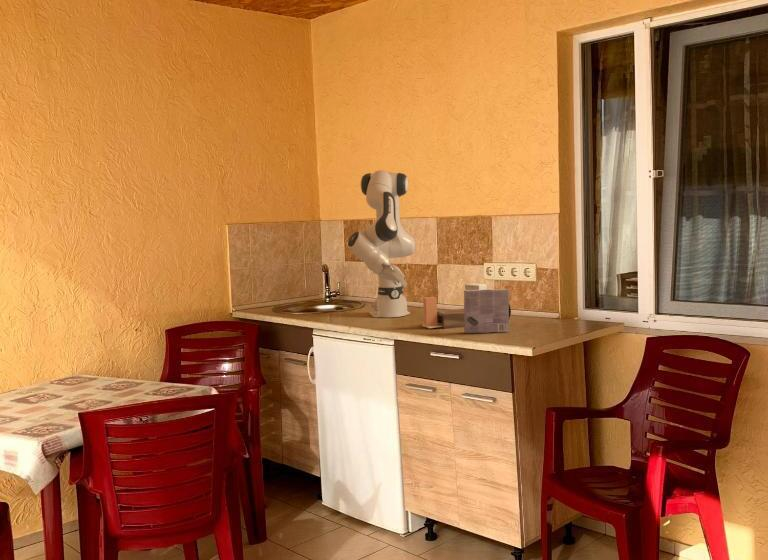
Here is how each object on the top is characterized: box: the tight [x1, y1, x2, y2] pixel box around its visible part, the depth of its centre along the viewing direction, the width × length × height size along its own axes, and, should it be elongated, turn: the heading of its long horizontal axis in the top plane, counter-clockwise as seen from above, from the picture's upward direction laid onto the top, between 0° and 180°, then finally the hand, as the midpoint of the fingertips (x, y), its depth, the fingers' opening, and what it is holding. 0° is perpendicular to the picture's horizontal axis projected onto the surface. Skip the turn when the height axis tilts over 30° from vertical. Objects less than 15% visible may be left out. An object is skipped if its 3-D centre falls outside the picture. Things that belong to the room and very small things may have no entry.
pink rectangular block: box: [421, 296, 443, 329], centre depth 355 cm, size 8×21×13 cm, turn 110°
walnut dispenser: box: [437, 308, 464, 330], centre depth 357 cm, size 13×18×7 cm
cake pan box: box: [463, 288, 512, 334], centre depth 334 cm, size 19×5×18 cm, turn 88°
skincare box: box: [464, 282, 488, 290], centre depth 377 cm, size 8×7×16 cm
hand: (401, 284), depth 347 cm, fingers open, 8 cm apart
